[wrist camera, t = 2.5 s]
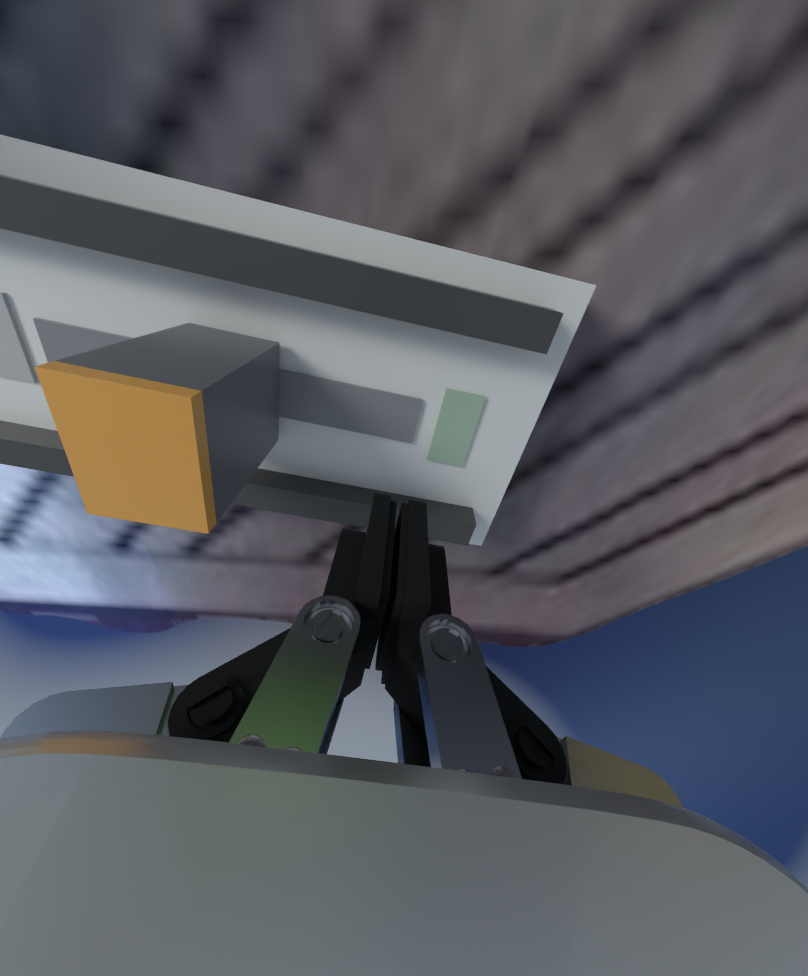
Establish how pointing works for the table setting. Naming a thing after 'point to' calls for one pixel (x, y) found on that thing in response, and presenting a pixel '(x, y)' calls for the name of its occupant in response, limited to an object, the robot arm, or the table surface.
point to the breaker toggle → (166, 422)
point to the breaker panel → (286, 333)
